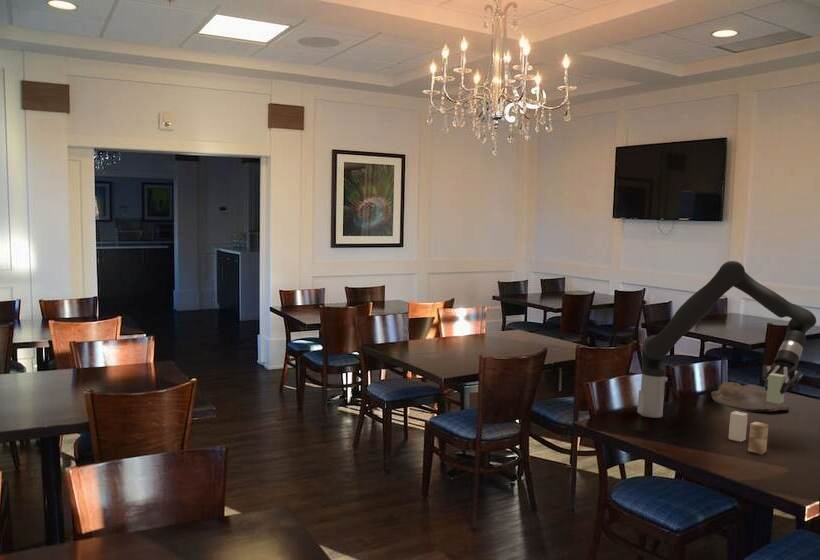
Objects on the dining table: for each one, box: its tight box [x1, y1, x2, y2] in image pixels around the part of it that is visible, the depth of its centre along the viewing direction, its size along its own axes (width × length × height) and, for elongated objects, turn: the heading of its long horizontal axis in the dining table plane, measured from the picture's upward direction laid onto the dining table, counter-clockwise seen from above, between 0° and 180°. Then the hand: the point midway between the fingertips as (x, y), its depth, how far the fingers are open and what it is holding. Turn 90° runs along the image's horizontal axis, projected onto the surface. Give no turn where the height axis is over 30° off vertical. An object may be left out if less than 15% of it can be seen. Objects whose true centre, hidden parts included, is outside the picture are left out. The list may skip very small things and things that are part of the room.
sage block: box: [766, 373, 786, 404], centre depth 254 cm, size 4×4×10 cm
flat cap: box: [710, 381, 790, 413], centre depth 311 cm, size 26×14×28 cm
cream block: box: [728, 410, 749, 443], centre depth 259 cm, size 4×4×10 cm
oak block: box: [747, 421, 770, 455], centre depth 246 cm, size 4×4×10 cm
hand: (774, 391), depth 253 cm, fingers closed on sage block, 4 cm apart
